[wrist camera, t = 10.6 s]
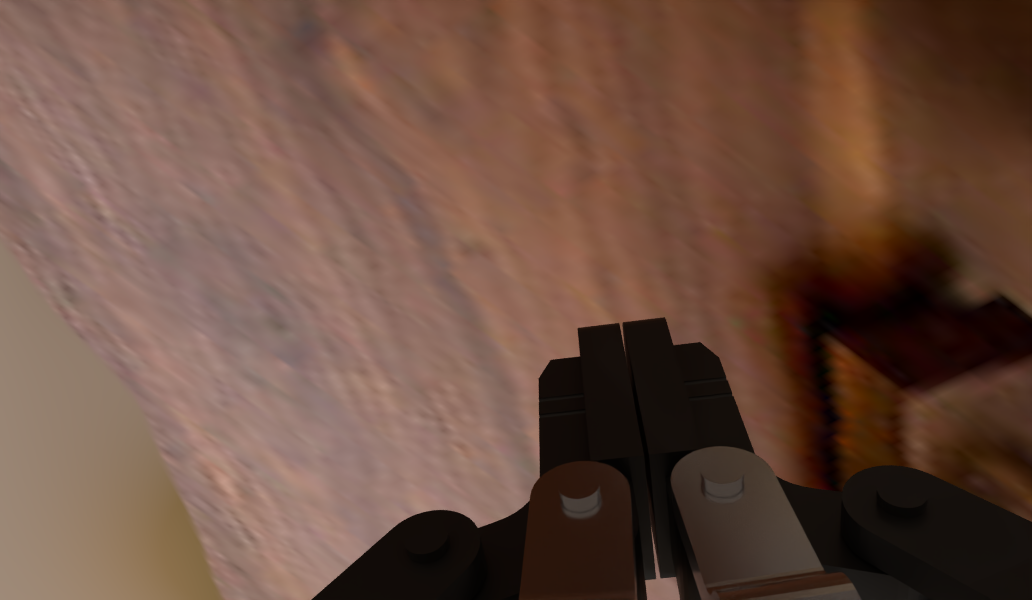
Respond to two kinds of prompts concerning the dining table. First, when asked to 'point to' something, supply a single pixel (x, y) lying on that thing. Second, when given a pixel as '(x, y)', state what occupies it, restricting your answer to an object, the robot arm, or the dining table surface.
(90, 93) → the dining table surface
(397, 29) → the dining table surface
